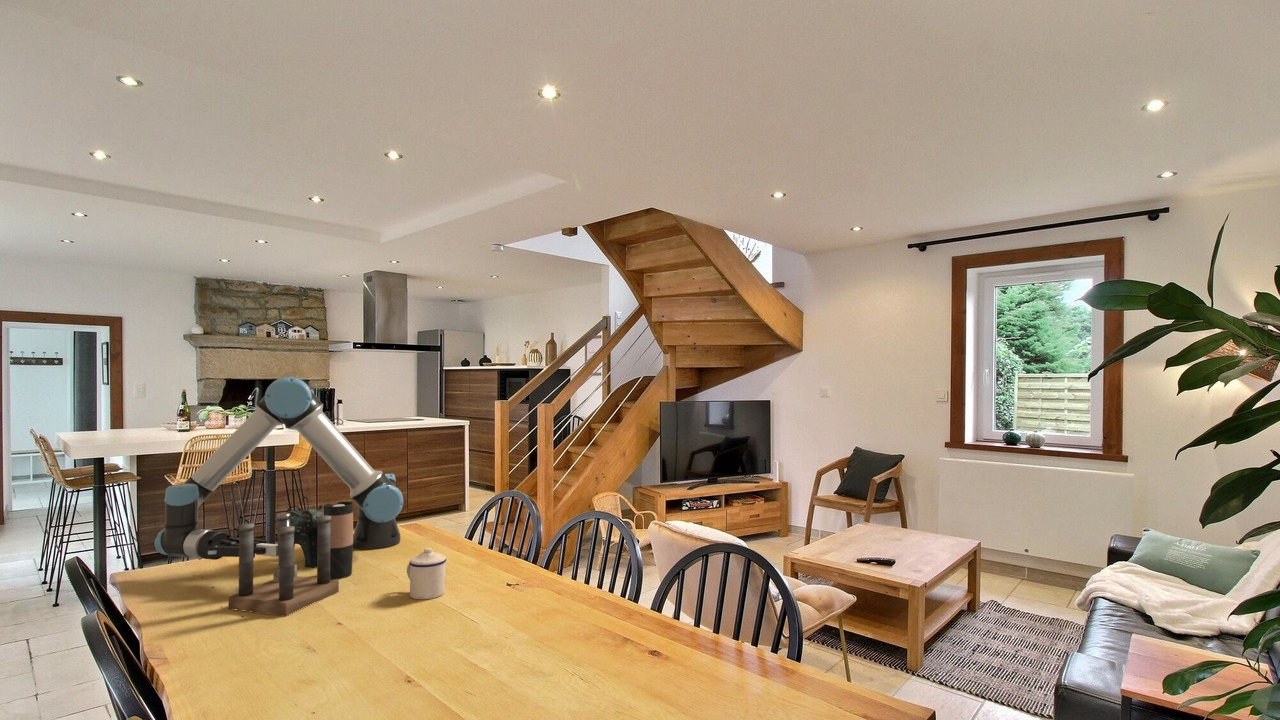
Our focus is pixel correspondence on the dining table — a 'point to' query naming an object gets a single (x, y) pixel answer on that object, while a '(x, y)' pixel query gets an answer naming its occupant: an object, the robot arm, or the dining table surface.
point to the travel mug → (340, 539)
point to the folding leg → (282, 525)
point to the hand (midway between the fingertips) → (278, 550)
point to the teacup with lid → (427, 575)
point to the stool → (283, 574)
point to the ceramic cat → (306, 531)
